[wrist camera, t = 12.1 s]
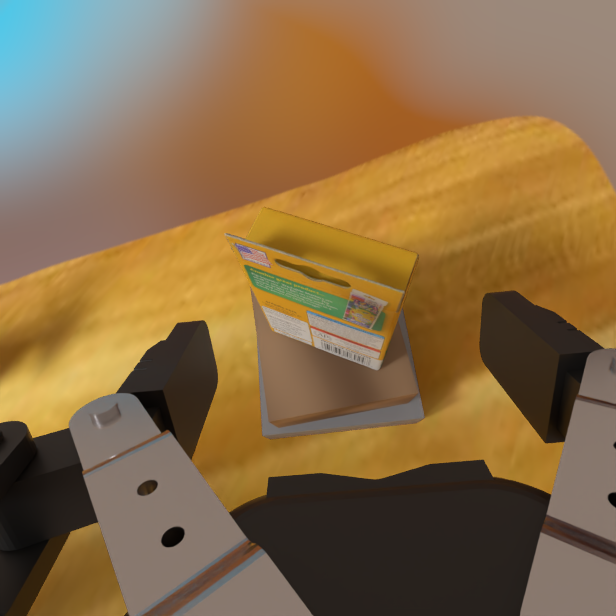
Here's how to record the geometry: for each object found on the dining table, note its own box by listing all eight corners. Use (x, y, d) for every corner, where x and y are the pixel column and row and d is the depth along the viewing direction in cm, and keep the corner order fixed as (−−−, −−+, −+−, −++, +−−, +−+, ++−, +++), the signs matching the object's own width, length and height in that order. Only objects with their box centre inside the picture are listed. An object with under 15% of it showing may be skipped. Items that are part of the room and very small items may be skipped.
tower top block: (278, 428, 28) (268, 421, 24) (259, 296, 31) (248, 273, 28) (408, 403, 28) (418, 393, 24) (373, 273, 31) (378, 247, 28)
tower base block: (271, 439, 31) (262, 435, 28) (263, 308, 35) (254, 289, 32) (414, 424, 31) (424, 418, 27) (389, 292, 35) (395, 271, 31)
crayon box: (395, 328, 26) (432, 227, 15) (379, 372, 25) (407, 298, 14) (289, 291, 27) (253, 174, 16) (270, 331, 26) (220, 236, 15)
